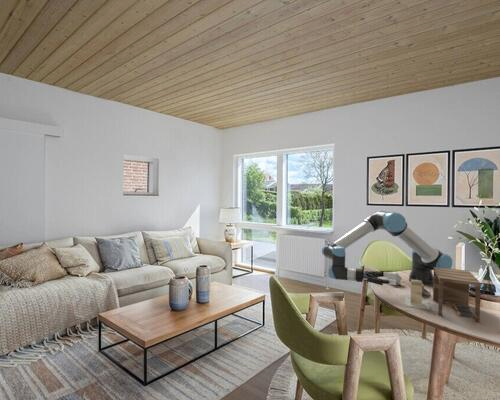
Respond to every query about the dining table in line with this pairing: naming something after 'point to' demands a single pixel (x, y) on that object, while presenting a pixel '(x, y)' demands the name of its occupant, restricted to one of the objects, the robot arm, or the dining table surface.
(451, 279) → the small wooden table
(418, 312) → the dining table surface
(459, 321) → the dining table surface
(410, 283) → the ceramic mug
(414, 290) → the maple block
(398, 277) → the grey rock
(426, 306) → the pad
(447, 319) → the dining table surface
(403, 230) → the robot arm
